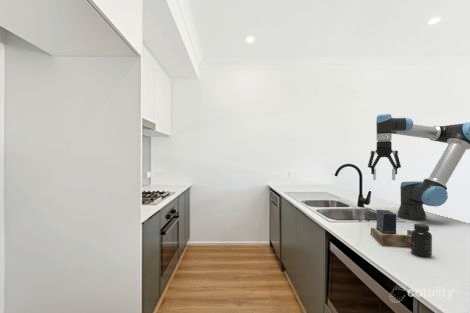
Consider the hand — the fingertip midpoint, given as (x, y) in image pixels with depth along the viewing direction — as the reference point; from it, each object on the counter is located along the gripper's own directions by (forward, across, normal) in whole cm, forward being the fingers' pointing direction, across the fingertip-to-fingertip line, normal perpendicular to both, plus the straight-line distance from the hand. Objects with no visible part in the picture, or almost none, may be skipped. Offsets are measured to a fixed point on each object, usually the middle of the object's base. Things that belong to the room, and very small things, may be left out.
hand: (384, 179), depth 148 cm
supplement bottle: (+26, -1, -47) cm, 54 cm away
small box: (+26, -4, -16) cm, 31 cm away
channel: (+26, -4, -30) cm, 40 cm away
